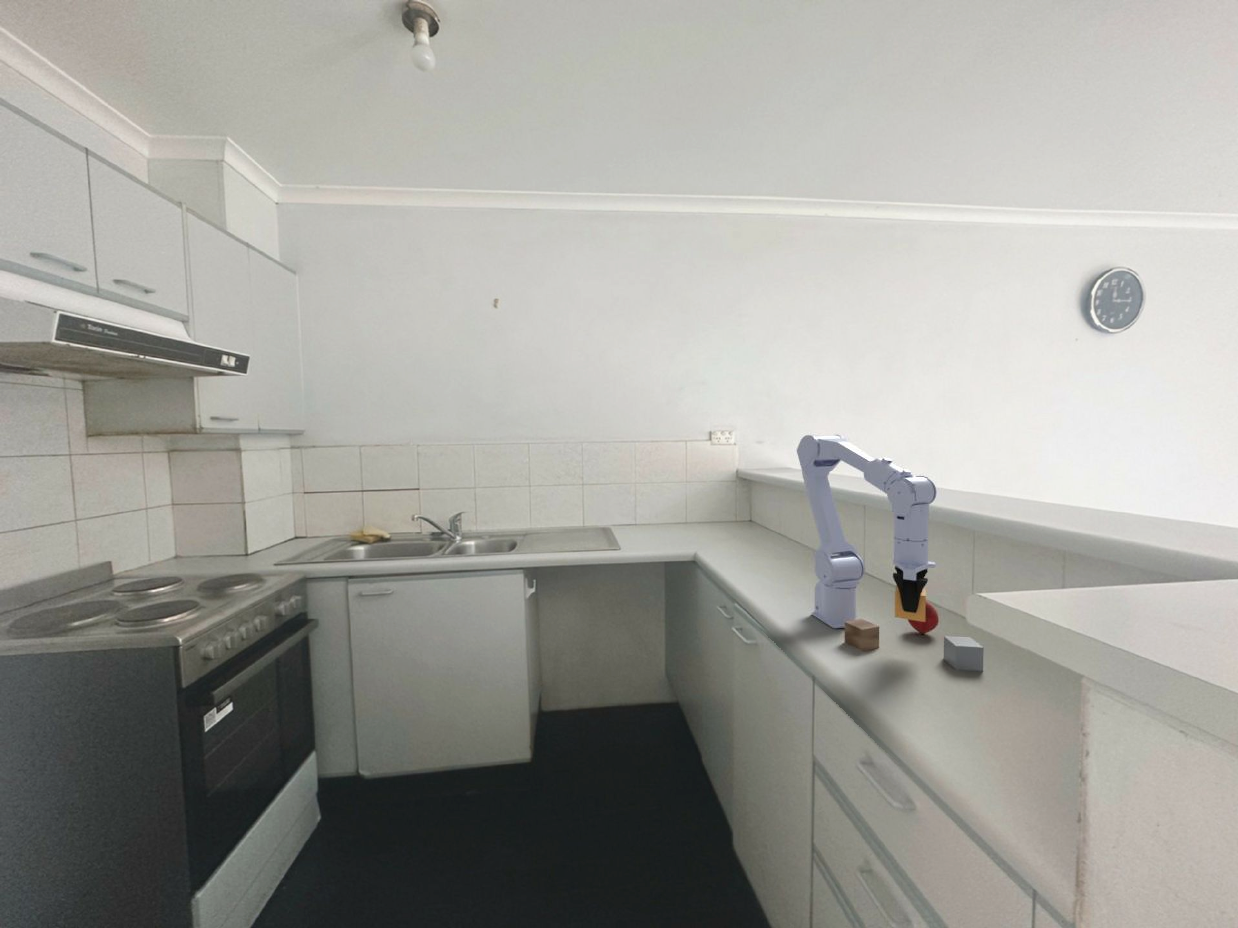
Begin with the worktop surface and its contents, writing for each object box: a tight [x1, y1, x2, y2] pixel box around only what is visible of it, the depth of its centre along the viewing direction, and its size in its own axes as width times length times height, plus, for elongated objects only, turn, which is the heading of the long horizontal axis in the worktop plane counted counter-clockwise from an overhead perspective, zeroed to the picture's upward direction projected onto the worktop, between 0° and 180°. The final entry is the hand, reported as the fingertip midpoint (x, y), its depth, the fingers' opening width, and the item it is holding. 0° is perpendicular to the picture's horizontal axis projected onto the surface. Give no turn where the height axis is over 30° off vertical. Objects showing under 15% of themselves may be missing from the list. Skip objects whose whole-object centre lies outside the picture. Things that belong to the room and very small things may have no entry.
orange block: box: [894, 584, 927, 622], centre depth 93 cm, size 5×5×5 cm
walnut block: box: [844, 618, 880, 652], centre depth 98 cm, size 4×4×4 cm
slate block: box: [943, 635, 985, 672], centre depth 89 cm, size 4×4×4 cm
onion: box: [907, 601, 940, 635], centre depth 103 cm, size 6×6×8 cm
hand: (910, 607), depth 93 cm, fingers closed on orange block, 5 cm apart
